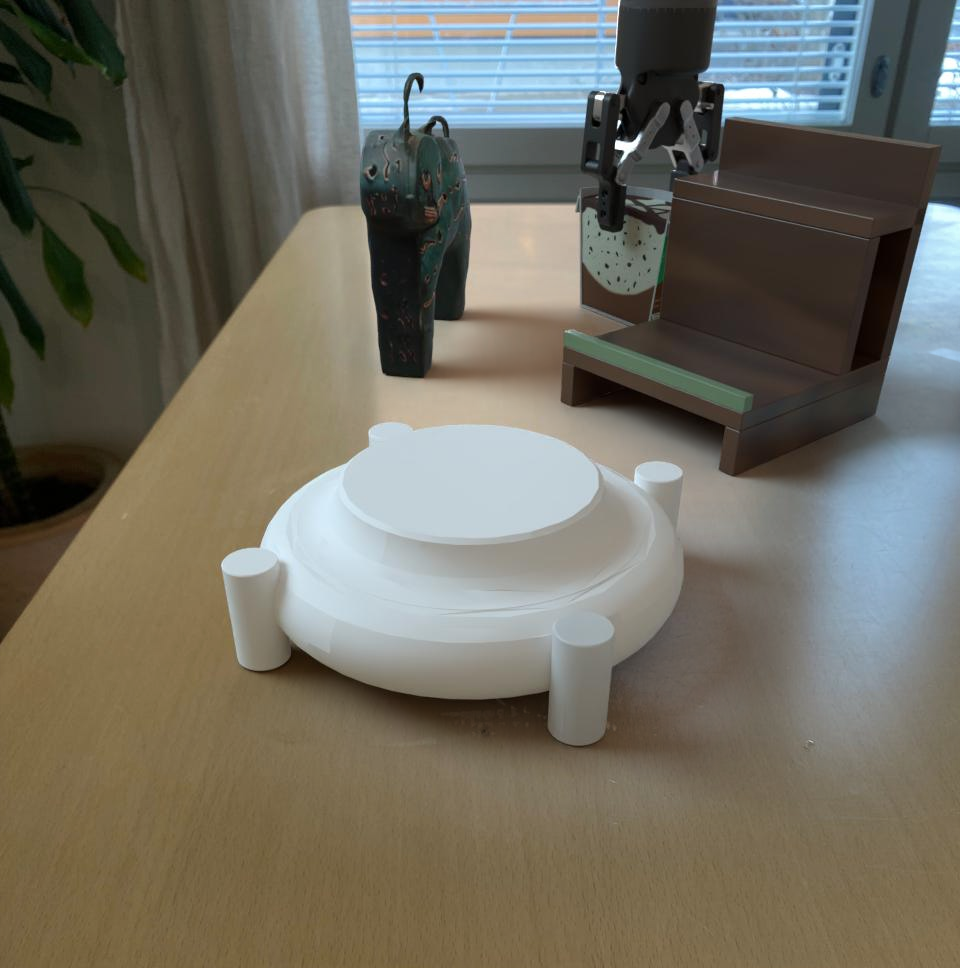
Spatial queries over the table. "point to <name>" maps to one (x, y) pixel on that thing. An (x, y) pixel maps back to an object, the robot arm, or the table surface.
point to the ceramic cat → (414, 236)
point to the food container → (624, 256)
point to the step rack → (774, 288)
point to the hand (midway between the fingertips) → (645, 224)
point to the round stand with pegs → (467, 570)
